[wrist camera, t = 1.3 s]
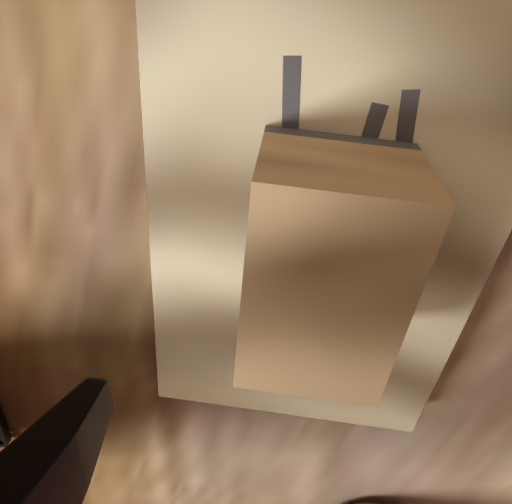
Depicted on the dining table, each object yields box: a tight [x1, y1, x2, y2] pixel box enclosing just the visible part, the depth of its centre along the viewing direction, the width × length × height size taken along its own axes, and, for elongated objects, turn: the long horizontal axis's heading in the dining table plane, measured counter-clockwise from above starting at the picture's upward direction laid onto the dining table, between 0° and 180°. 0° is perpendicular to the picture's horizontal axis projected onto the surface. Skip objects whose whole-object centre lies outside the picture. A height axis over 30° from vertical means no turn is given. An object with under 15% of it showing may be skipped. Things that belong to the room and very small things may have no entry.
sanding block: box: [233, 125, 456, 407], centre depth 13 cm, size 7×4×4 cm, turn 175°
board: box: [135, 0, 512, 432], centre depth 15 cm, size 20×12×2 cm, turn 175°
